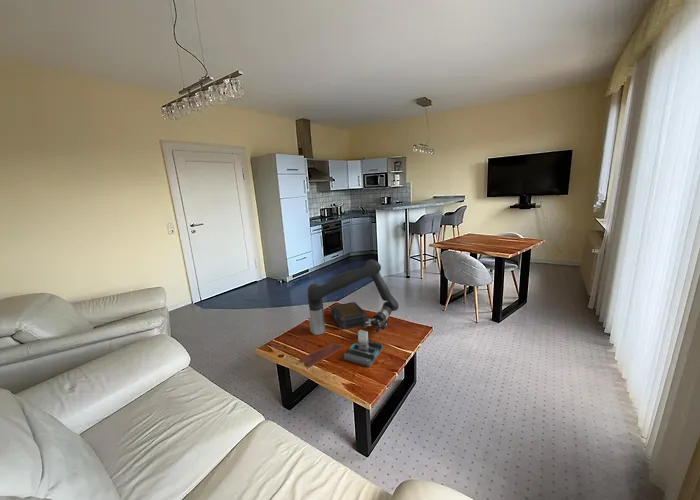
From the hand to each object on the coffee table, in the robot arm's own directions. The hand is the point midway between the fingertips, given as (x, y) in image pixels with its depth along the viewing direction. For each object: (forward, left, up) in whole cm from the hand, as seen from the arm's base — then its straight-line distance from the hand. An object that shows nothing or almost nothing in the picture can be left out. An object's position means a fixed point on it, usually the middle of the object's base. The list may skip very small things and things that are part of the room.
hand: (370, 329), depth 172 cm
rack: (+1, -11, -10) cm, 15 cm away
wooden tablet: (-22, -21, -11) cm, 32 cm away
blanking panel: (+1, -11, -9) cm, 14 cm away
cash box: (-29, +24, -11) cm, 39 cm away
